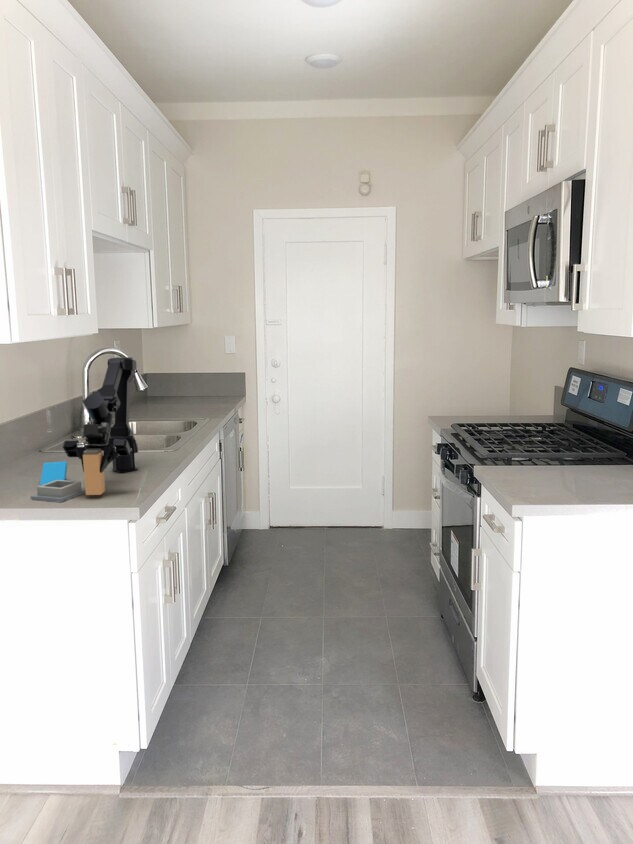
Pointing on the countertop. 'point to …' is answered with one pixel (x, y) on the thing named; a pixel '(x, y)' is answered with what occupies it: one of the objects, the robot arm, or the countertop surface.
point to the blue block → (53, 472)
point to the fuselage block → (93, 472)
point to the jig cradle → (58, 490)
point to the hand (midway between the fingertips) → (92, 472)
